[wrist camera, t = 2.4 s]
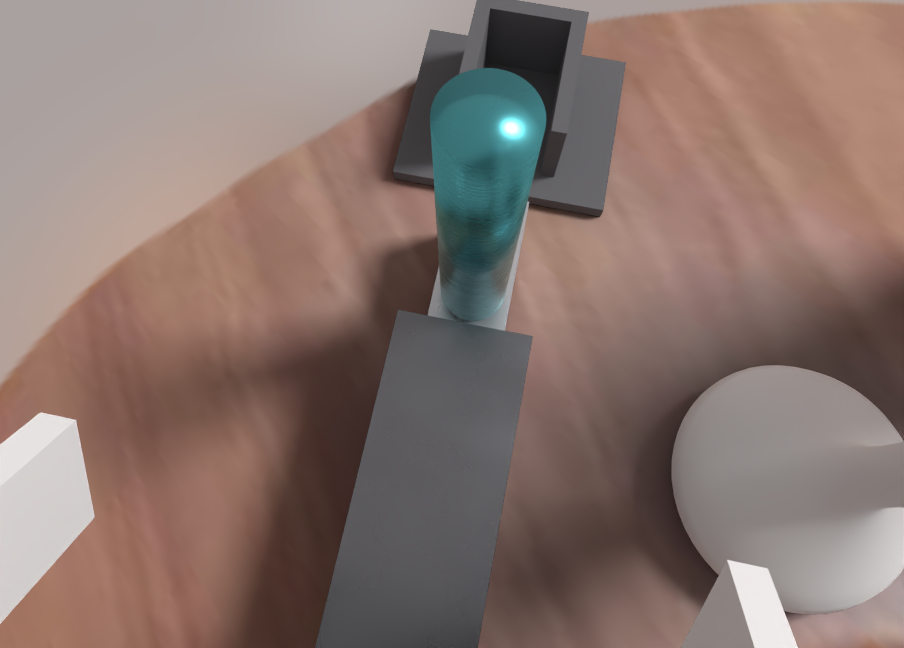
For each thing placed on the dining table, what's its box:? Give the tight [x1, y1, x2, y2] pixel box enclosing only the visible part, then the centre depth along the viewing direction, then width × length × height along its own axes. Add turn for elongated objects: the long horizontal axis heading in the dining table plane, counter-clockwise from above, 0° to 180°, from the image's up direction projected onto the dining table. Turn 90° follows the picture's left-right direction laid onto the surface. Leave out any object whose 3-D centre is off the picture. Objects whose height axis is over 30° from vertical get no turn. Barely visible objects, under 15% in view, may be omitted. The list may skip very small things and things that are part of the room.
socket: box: [393, 0, 626, 217], centre depth 34 cm, size 12×10×5 cm
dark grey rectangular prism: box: [315, 310, 533, 648], centre depth 27 cm, size 6×17×6 cm, turn 168°
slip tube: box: [428, 68, 546, 331], centre depth 22 cm, size 4×20×17 cm, turn 168°
